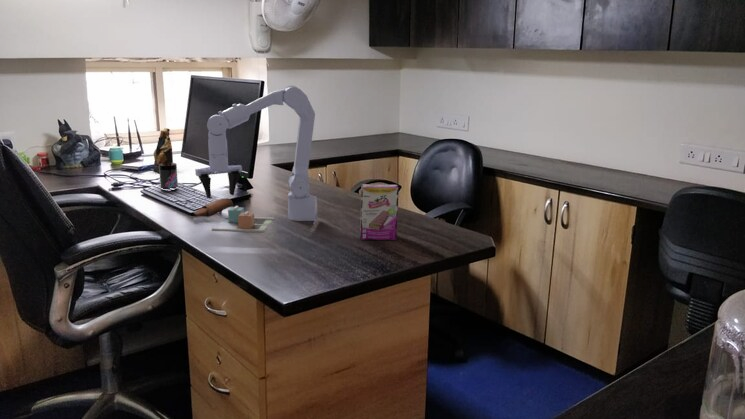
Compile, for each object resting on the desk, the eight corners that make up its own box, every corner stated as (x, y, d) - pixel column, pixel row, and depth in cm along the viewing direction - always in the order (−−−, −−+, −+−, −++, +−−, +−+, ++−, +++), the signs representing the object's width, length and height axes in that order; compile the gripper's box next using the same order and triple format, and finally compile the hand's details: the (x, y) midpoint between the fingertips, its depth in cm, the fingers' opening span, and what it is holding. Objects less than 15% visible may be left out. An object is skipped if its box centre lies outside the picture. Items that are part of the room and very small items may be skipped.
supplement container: (161, 192, 243) (159, 166, 240) (159, 188, 249) (157, 163, 246) (179, 190, 246) (177, 165, 243) (176, 187, 252) (175, 162, 249)
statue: (151, 171, 285) (148, 128, 281) (168, 169, 290) (165, 127, 285) (160, 175, 276) (157, 130, 271) (177, 173, 281) (175, 129, 276)
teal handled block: (244, 219, 200) (243, 205, 199) (240, 222, 197) (240, 208, 195) (232, 219, 201) (231, 205, 200) (228, 222, 197) (228, 208, 196)
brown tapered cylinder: (212, 205, 223) (219, 190, 220) (227, 216, 222) (235, 201, 220) (186, 218, 206) (194, 202, 203) (203, 230, 205) (211, 214, 203)
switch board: (274, 223, 202) (273, 217, 201) (263, 236, 187) (263, 230, 187) (226, 221, 203) (225, 216, 202) (212, 234, 188) (211, 228, 188)
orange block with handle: (254, 225, 194) (254, 211, 193) (251, 228, 190) (250, 214, 189) (241, 224, 194) (241, 210, 193) (238, 228, 190) (238, 214, 189)
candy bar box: (360, 240, 184) (360, 187, 180) (360, 235, 189) (360, 183, 185) (397, 240, 185) (398, 187, 181) (396, 236, 190) (397, 184, 186)
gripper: (235, 150, 200) (237, 191, 203) (191, 153, 192) (193, 196, 195) (243, 153, 194) (245, 195, 197) (198, 157, 186) (201, 200, 190)
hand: (220, 196), depth 196 cm, fingers open, 7 cm apart
